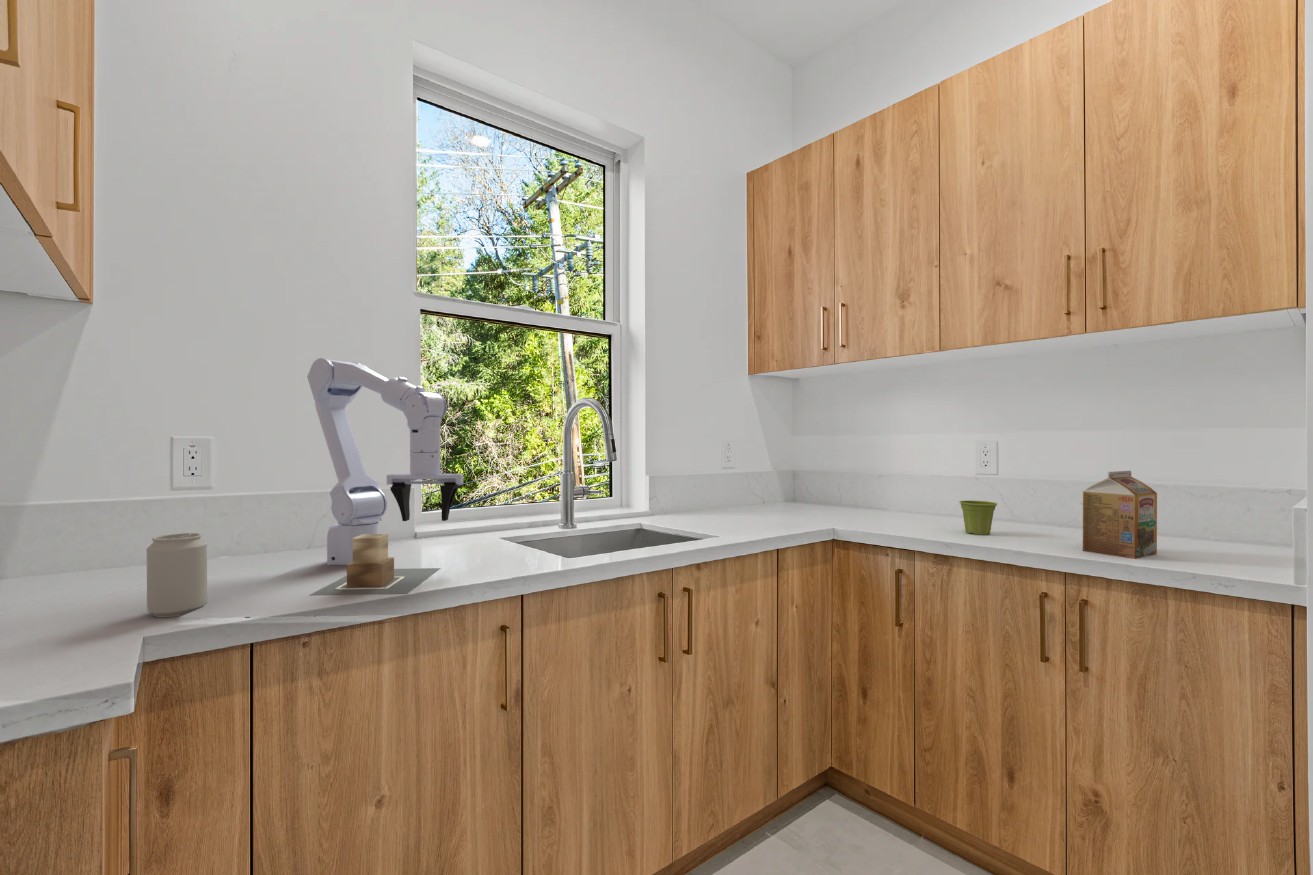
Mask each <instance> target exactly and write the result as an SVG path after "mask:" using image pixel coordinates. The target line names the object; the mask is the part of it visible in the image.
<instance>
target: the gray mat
mask: <svg viewBox="0 0 1313 875" xmlns="http://www.w3.org/2000/svg"><path fill="white" fill-rule="evenodd" d="M441 569H442V568H441V567H437V568H433V567H432V568H431V567H430V568H425V567H424V568H415V567H413V568H394V579H393V580H392V581H390V582H389V583H387V584H386V585H384V586H382V587H347V575H344V577H342V578H339V579H338V580H335V581H334V582H332V583H329V584H328V585H326V586H323V587H322V588H320V589H318V590H317V591H314V592H312V593H311V594H309V596H349V595H350V596H351V595H352V596H353V595H355V596H357V595H358V596H359V595H361V596H363V595H365V596H367V595H368V596H369V595H408V594H409V593H410V592H411V591H413V590H414V589H416V588H417V587H418V586H419V585H421V584H422V583H423V582H425V581H426V580H428V579H429V578H430V577H432V576H433V575H434V574H435V573H437V572H438V571H439V570H441Z"/></svg>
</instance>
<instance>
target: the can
mask: <svg viewBox="0 0 1313 875" xmlns="http://www.w3.org/2000/svg"><path fill="white" fill-rule="evenodd" d="M202 536H203V534H202V533H198V532H197V533H195V532H186V533H183V532H181V533H171V534H164V535H163V534H162V535H159V536H154V537H152V538H151V540H152V543H151V544H150V545H149V546H148V547H147V548H146V611H147V612H148V613H150V614H152V615H153V617H157V618H174V617H181V616H185V615H188V614H190V613H192V612H195V611H197V610H199V609H202V608H203V607H205V606H206V605H207V604H208V542H206V541H205V540H204V539H203V538H202Z"/></svg>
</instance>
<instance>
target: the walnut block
mask: <svg viewBox="0 0 1313 875" xmlns="http://www.w3.org/2000/svg"><path fill="white" fill-rule="evenodd" d="M394 569H395V557H389V556H388V559H386V560H384V561H383V562H381V563H379V564H353V562H351V563H349V564H347V565H346V576H347V587H382V586H384V585H386V584H387V583H389V582H390V581H392V580H393V579H394Z"/></svg>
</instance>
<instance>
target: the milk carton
mask: <svg viewBox="0 0 1313 875" xmlns="http://www.w3.org/2000/svg"><path fill="white" fill-rule="evenodd" d="M1157 541H1158V492H1156V491H1155V490H1154V489H1153V488H1152V487H1150V486H1149V485H1147V484H1146V483H1144V482H1142V481H1141V480H1139V479H1137V478H1134V477H1133V476H1132V470H1119V471H1117V470H1116V471H1107V478H1104V479H1102V480H1100V481H1098V482H1096V483H1094V484H1092V485H1090V486H1088V487H1086V488H1085V490H1082V552H1086V553H1092V554H1101V555H1106V556H1112V557H1119V558H1126V559H1133V560H1135V559H1136V560H1137V559H1140V558H1145V557H1150V556H1154V555H1157V553H1158V548H1157V547H1158V544H1157V543H1158V542H1157Z"/></svg>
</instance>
